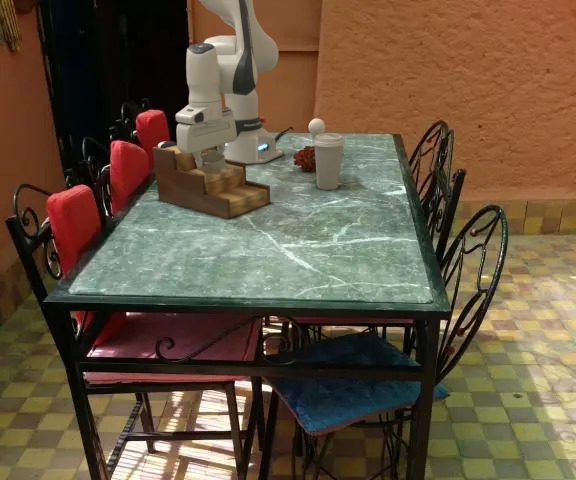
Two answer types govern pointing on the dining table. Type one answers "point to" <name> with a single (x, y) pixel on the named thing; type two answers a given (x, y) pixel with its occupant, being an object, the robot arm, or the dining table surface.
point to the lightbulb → (316, 128)
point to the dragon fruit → (306, 158)
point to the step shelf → (206, 184)
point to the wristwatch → (212, 161)
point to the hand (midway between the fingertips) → (210, 163)
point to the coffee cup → (328, 159)
